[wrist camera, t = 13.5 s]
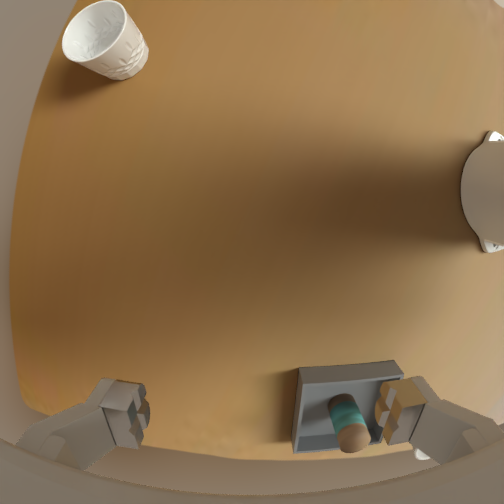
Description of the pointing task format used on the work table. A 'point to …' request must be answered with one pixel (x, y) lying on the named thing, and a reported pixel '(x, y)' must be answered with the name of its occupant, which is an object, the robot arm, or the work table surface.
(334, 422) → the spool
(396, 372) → the bin
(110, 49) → the white cup
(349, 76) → the work table surface
